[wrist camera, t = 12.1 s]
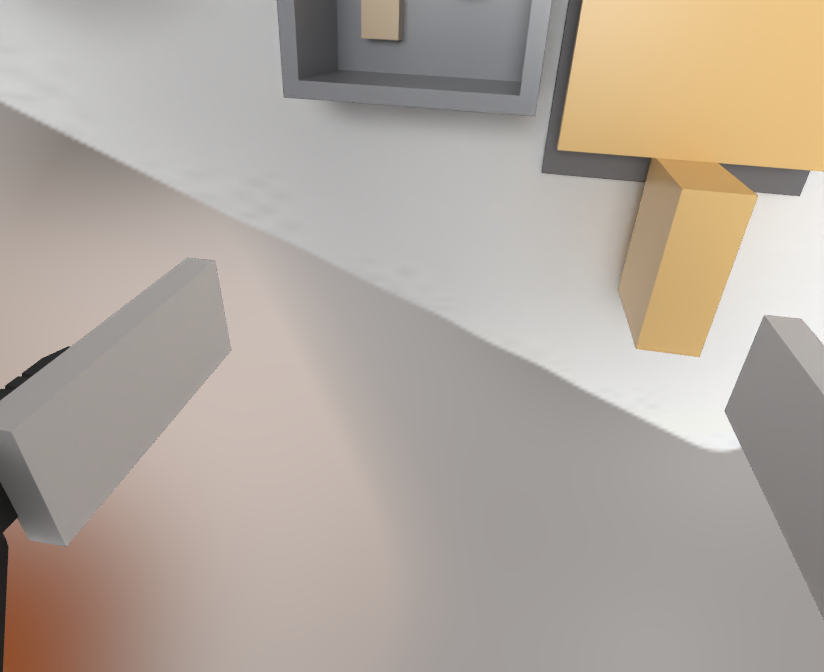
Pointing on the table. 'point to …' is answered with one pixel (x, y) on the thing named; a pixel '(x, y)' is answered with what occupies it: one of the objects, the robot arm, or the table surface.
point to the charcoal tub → (416, 52)
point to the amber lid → (693, 136)
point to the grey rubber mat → (632, 165)
